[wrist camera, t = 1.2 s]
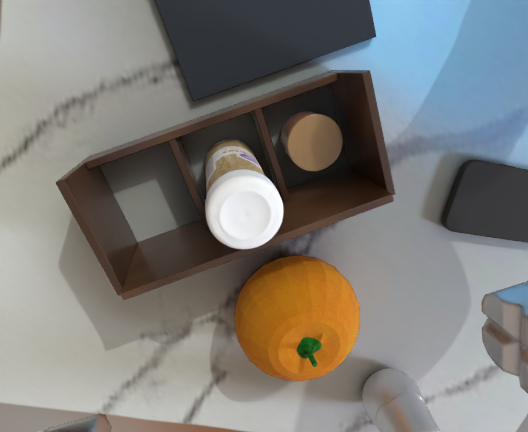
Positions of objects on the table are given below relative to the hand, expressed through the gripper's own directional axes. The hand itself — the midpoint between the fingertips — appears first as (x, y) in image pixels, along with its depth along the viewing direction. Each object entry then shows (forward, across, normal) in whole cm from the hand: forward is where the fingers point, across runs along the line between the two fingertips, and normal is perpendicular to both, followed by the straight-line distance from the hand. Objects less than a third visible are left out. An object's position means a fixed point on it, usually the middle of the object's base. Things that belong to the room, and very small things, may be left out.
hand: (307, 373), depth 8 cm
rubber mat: (+28, -7, -10) cm, 30 cm away
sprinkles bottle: (+28, -1, +2) cm, 28 cm away
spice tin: (+28, -8, +1) cm, 29 cm away
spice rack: (+28, -1, +2) cm, 28 cm away
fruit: (+28, -4, +16) cm, 33 cm away
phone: (+27, -28, +12) cm, 41 cm away
